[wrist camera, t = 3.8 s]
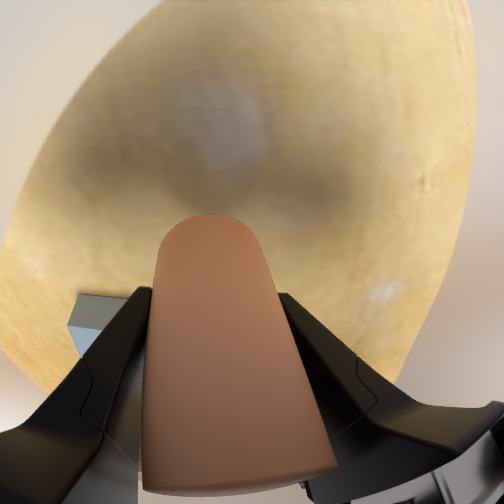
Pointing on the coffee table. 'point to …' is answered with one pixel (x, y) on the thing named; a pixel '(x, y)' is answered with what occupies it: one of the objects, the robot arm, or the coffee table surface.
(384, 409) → the robot arm
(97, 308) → the socket block
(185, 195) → the coffee table surface
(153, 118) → the coffee table surface
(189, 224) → the peg
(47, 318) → the coffee table surface
